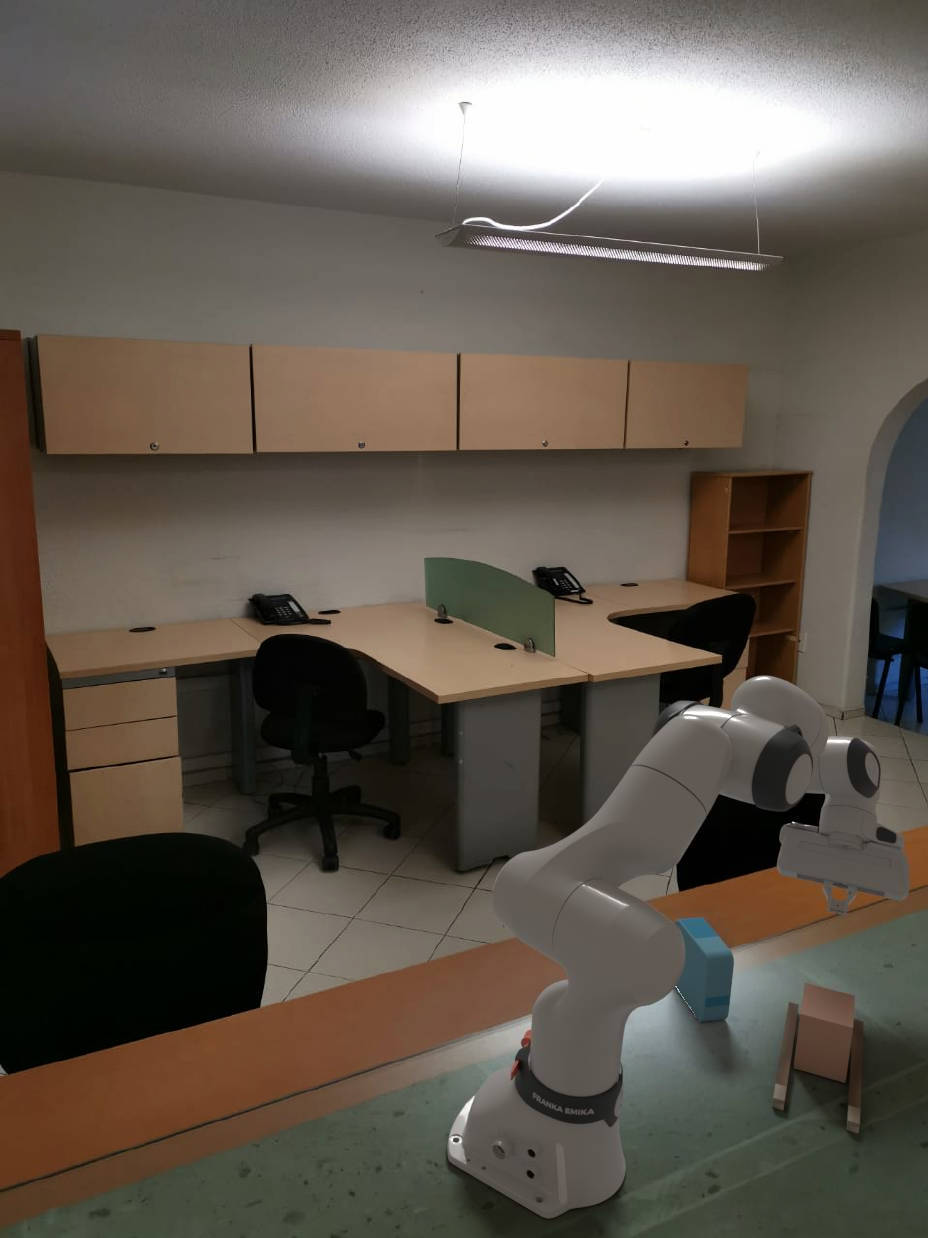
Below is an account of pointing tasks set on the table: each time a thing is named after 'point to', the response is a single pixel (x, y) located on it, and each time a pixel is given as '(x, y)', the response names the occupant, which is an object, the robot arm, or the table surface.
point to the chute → (854, 1074)
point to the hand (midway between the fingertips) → (836, 912)
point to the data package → (705, 970)
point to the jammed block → (825, 1032)
